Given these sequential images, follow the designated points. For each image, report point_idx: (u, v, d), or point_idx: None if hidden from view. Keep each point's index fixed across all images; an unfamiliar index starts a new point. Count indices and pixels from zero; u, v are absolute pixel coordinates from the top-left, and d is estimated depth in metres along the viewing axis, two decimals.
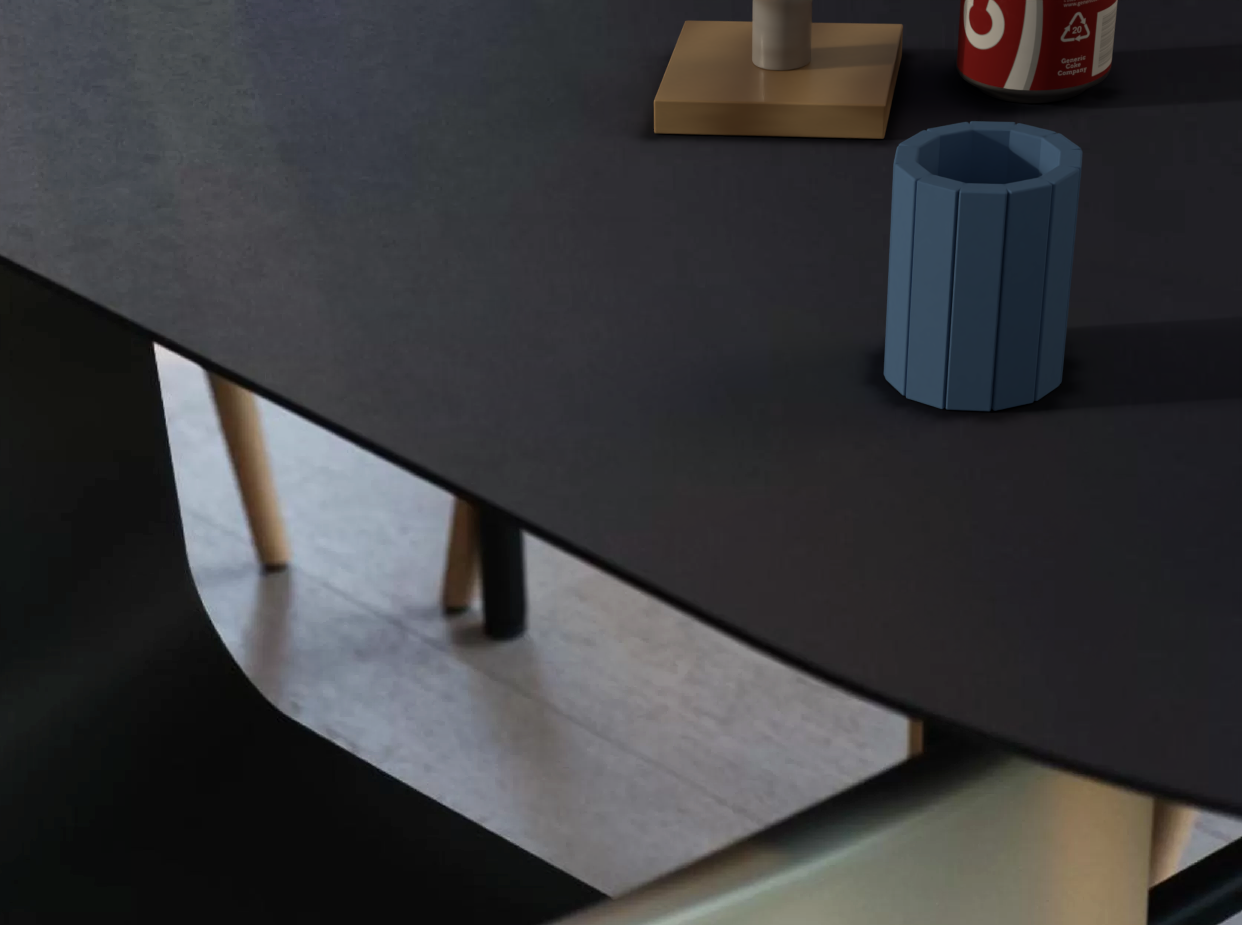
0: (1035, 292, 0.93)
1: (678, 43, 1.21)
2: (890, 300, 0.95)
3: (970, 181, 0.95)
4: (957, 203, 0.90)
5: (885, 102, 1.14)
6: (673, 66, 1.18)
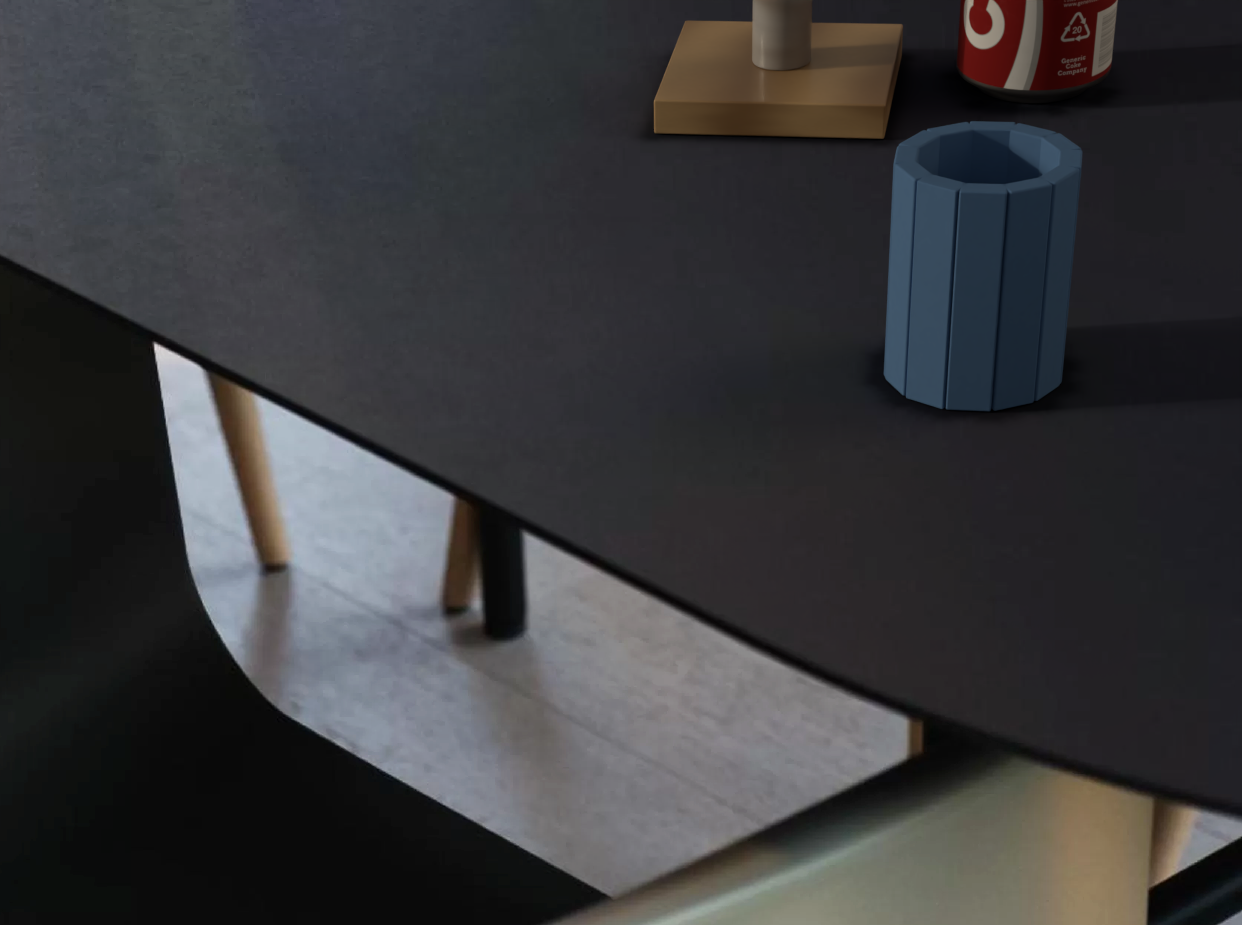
0: (1035, 292, 0.93)
1: (678, 43, 1.21)
2: (890, 300, 0.95)
3: (970, 181, 0.95)
4: (957, 203, 0.90)
5: (885, 102, 1.14)
6: (673, 66, 1.18)
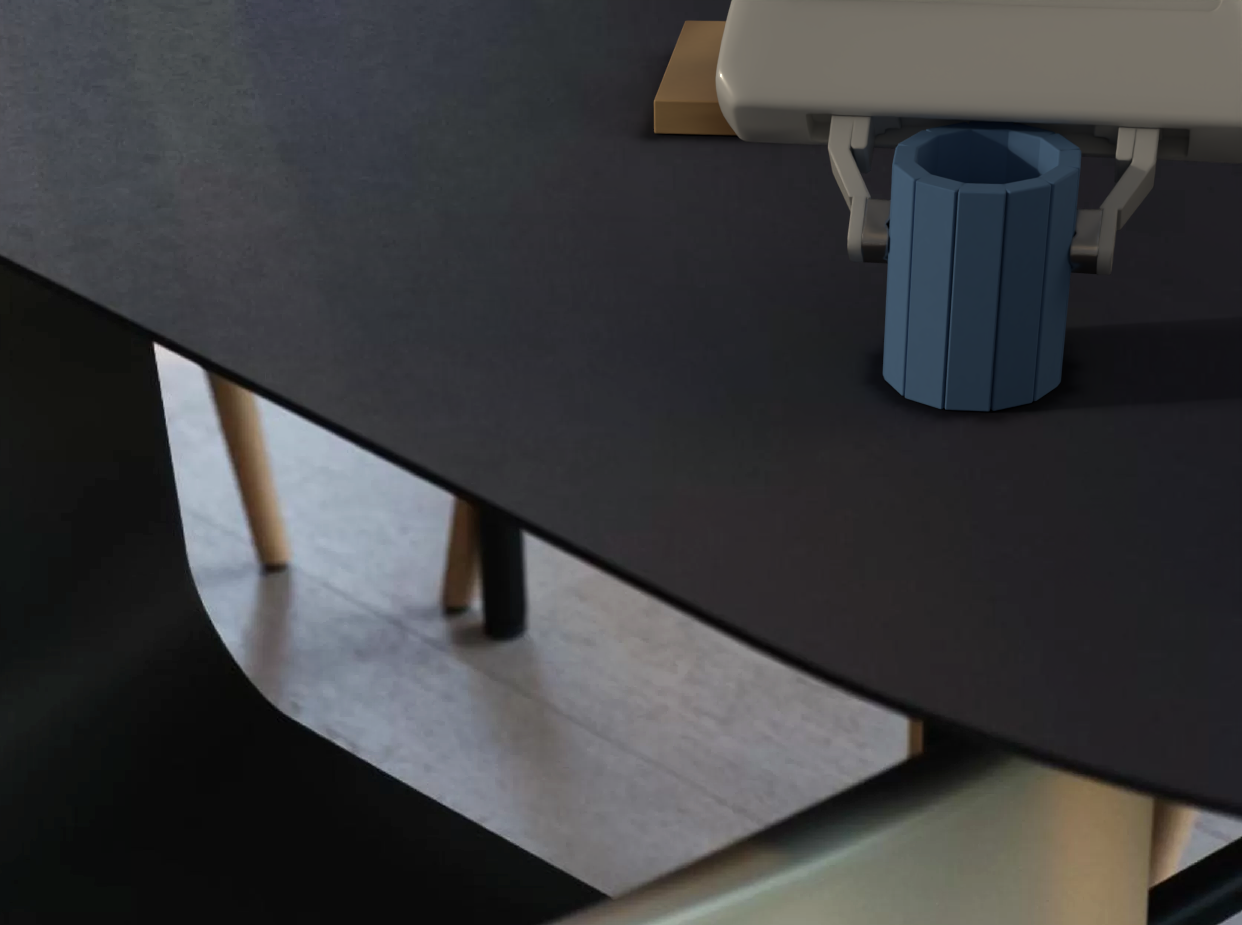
0: (1034, 292, 0.93)
1: (678, 43, 1.21)
2: (889, 300, 0.95)
3: (969, 181, 0.95)
4: (956, 203, 0.90)
5: None
6: (673, 66, 1.18)
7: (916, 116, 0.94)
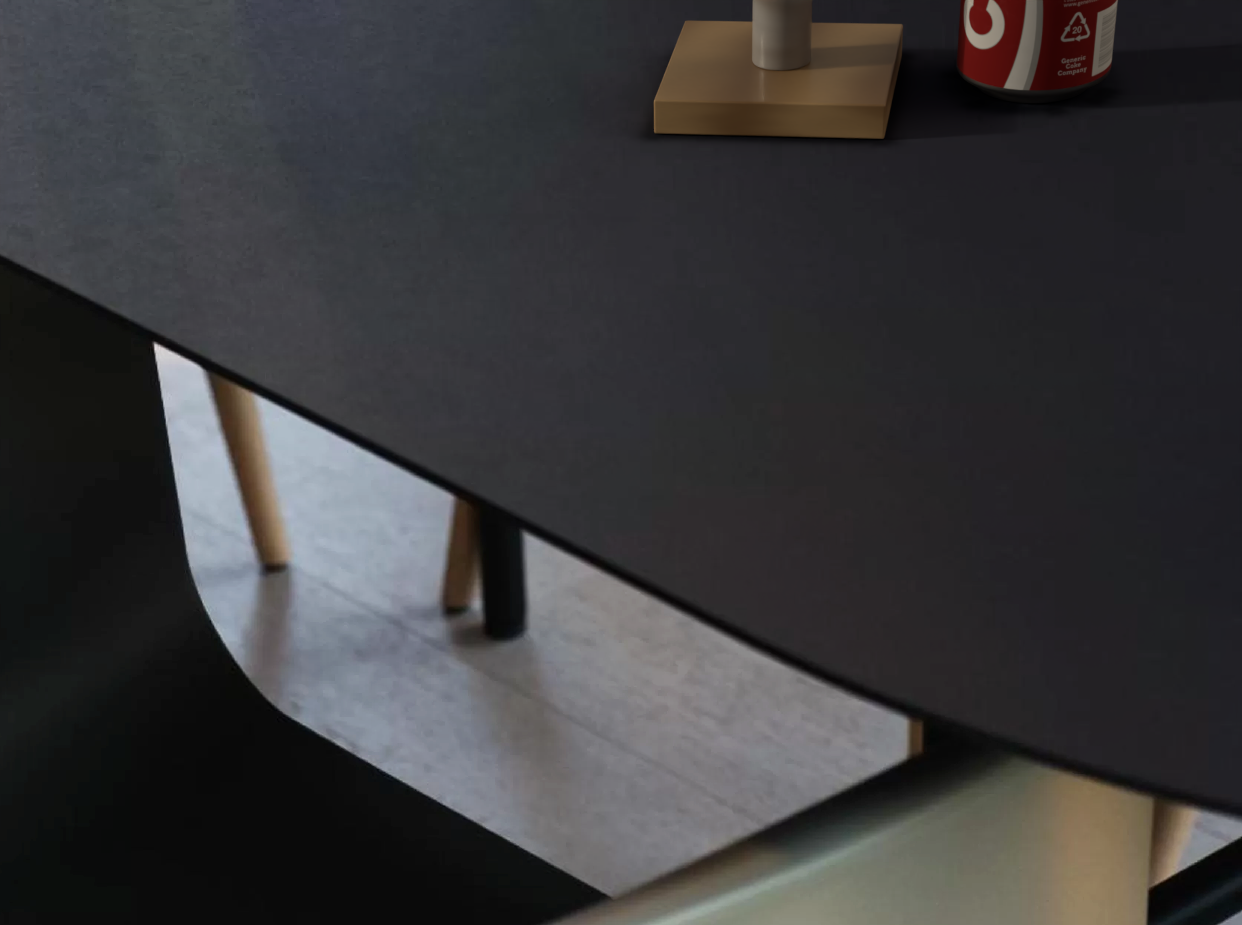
0: None
1: (678, 43, 1.21)
2: None
3: None
4: None
5: (885, 102, 1.14)
6: (673, 66, 1.18)
7: None
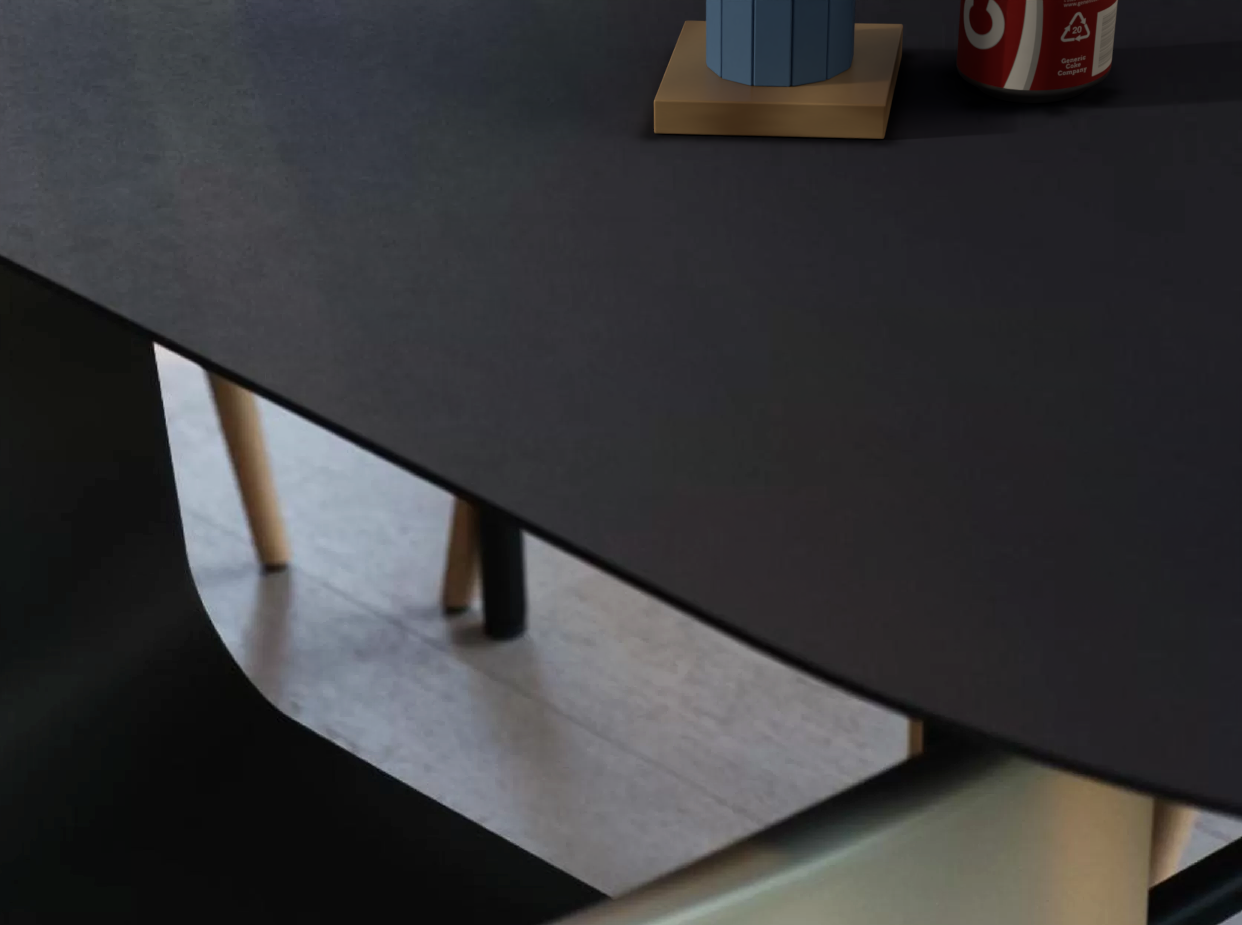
0: None
1: (678, 43, 1.21)
2: None
3: None
4: None
5: (885, 102, 1.14)
6: (673, 66, 1.18)
7: None
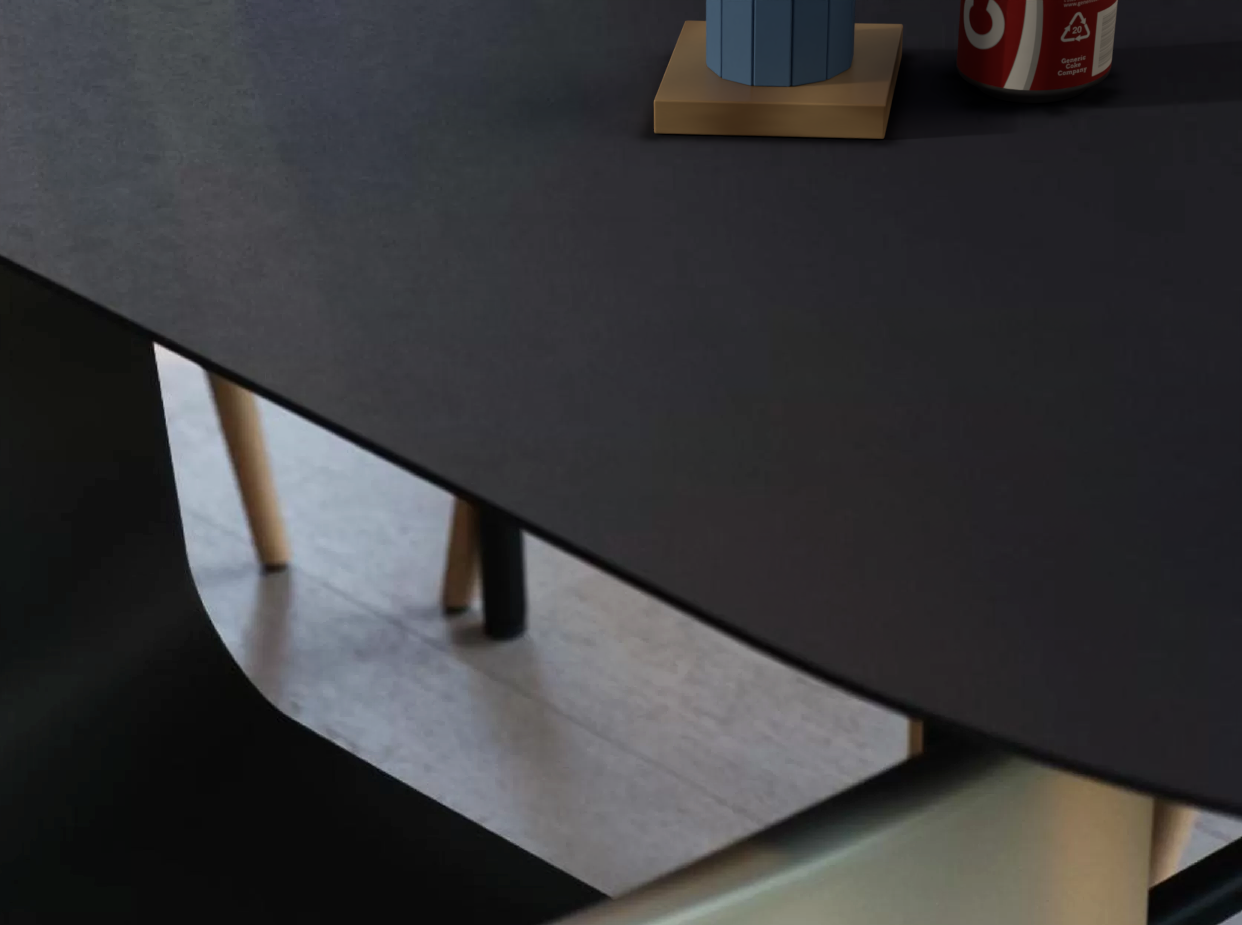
0: None
1: (678, 43, 1.21)
2: None
3: None
4: None
5: (885, 102, 1.14)
6: (673, 66, 1.18)
7: None
